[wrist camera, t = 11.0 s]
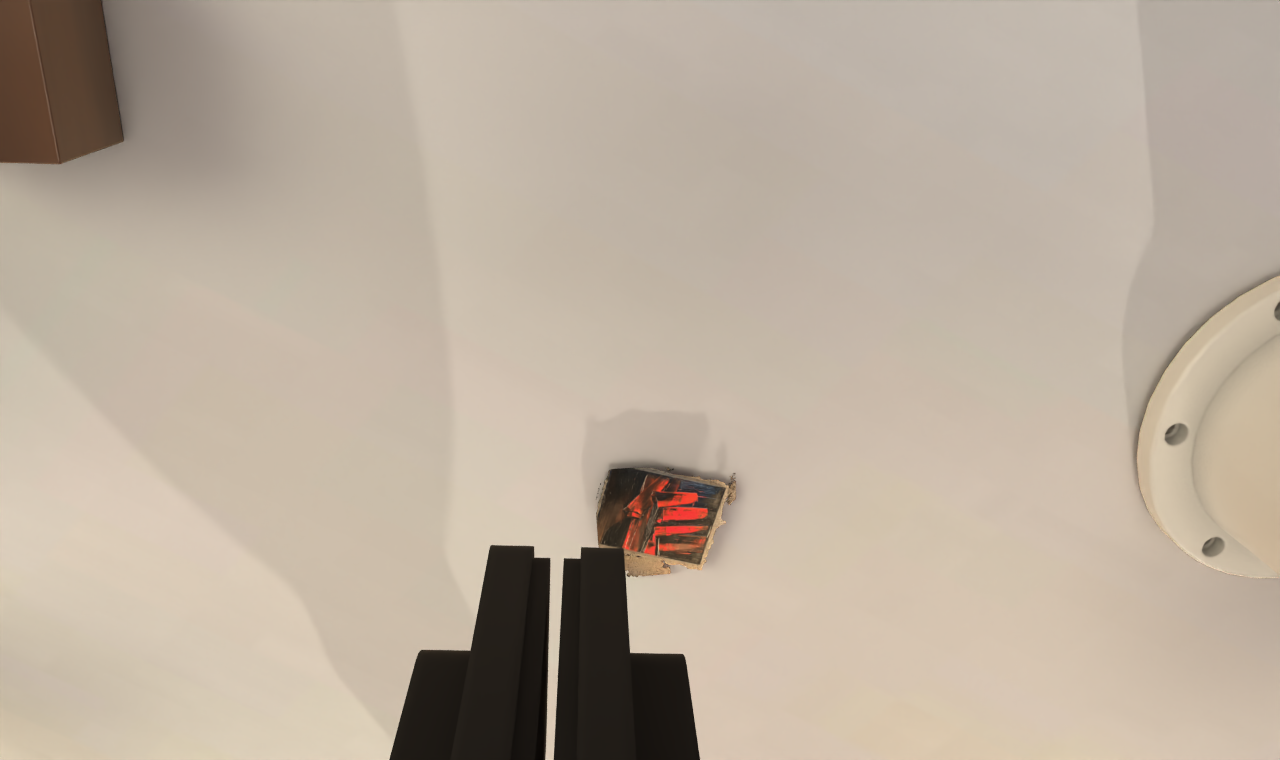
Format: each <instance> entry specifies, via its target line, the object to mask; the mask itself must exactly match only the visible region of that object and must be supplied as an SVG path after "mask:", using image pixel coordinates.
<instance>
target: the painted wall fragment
mask: <svg viewBox="0 0 1280 760" xmlns="http://www.w3.org/2000/svg"><path fill="white" fill-rule="evenodd" d="M672 470H673V469H672ZM667 471H670V469H669V468H667ZM670 472H671V471H670ZM608 473H609V474H608V477H607V479H606V480H605V481H604V482H605V484H604V487H603V489H602V490H603V493H602V494H601V496H602V497H601V499H600V501H599V502H598V503H599V504H598V511H597V513H596V517H597V531H598V545H599V548H623V549H624V559H625V570H628V571H629V573H627V576H628V577H630V576H631V575H632V576H633V577H634V576H636V577H638V575H642V576H647V575H648V576H649V575H652V576H653V575H657V574H658V575H659V574H670V572H671V571H670V567H666V568H663V567H662V566H663V565H664V564H663V562H662V560H664V561H665V563H666V564H668V565H675V564H681V565H683V566H686V567H687V568H689V569H698V570H702V565H703V564H704V563H705V562H706V559H705V558H706V557H707V554H708V550H709V549H710V548H711V545H712V544H713V543H714V541H713V535H714V533H715V531H716V528H719V525H723V524H725V523H726V521H723V520H721V518H720V517H721V515H722V508H723V505H724V503H725V500H726V498H727V497H728V498H729V499H728V500H727V501H726V502H728V504H729V505H731V504H730V503H731V502H732V501H734V500H735V499H736V487H735V485H736V481H735V480H734V482H733V479H735V478H732V477H733V476H732V477H731V479H732V481H731V483H729V484H728V485H725V483H724V482H720V481H719V480H712V481H711V479H710V481H709V480H702V479H701V478H700V476H698V477H693V476H692V477H687V476H683V475H675V474H671V473H666V472H664V471H660V470H658V469H651V468H625V469H624V468H623V469H612V470H609V472H608ZM733 474H735V473H733ZM732 483H733V484H732ZM600 484H601V483H600ZM598 489H599V488H598ZM598 492H599V491H598ZM596 500H597V498H596ZM625 554H630V556H629V555H626V556H625ZM636 556H640V558H639V557H636Z"/></svg>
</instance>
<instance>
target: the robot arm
mask: <svg viewBox="0 0 1280 760" xmlns="http://www.w3.org/2000/svg"><path fill="white" fill-rule="evenodd" d="M1137 469H1138V479H1139V487H1140V490H1141V493H1142V495H1143V498H1144V501H1145V504H1146V507H1147V510H1148V511H1149V513H1150V514H1151V516H1152V517H1153V519H1154V520H1155V522H1156V523H1157V525H1158V526H1159V528H1160V529H1161V531H1163V532H1164V533H1165V534H1166V535H1167V536H1168V537H1169V538H1170V539H1171V540H1172V541H1173V542H1174V543H1175V544H1176V545H1177V546H1178V547H1179V548H1181V549H1182V550H1183V551H1184V552H1185V553H1187V554H1188V555H1190V556H1191V557H1192V558H1194V559H1195V560H1196V561H1198V562H1200V563H1201V564H1203V565H1206V566H1208V567H1211V568H1214V569H1216V570H1219V571H1221V572H1224V573H1226V574H1232V575H1238V576H1244V577H1249V578H1280V276H1278V277H1275V278H1272V279H1270V280H1268V281H1266V282H1265V283H1263V284H1261V285H1259V286H1257V287H1255V288H1253V289H1252V290H1250V291H1248V292H1246V293H1244V294H1242V295H1241V296H1239V297H1238V298H1236V299H1235V300H1234V301H1232V302H1231V303H1230V304H1228V305H1227V306H1226V307H1224V308H1223V309H1222V310H1220V311H1219V312H1218V313H1216V314H1215V315H1214V316H1212V317H1211V318H1210V319H1209V320H1208V321H1207V322H1206V323H1205V324H1204V325H1203V326H1202V327H1201V328H1200V329H1199V330H1198V331H1197V332H1196V333H1195V334H1194V335H1193V336H1192V337H1191V338H1190V339H1189V340H1188V341H1187V342H1186V343H1185V344H1184V345H1183V347H1182V348H1181V350H1180V351H1179V352H1178V354H1177V355H1176V356H1175V358H1174V359H1173V360H1172V362H1171V363H1170V365H1169V366H1168V367H1167V369H1166V370H1165V371H1164V373H1163V375H1162V377H1161V379H1160V381H1159V383H1158V385H1157V387H1156V389H1155V391H1154V393H1153V395H1152V396H1151V398H1150V400H1149V403H1148V406H1147V409H1146V412H1145V416H1144V419H1143V422H1142V425H1141V429H1140V433H1139V442H1138V451H1137ZM549 600H550V558H534V546H498V545H491V546H490V550H489V555H488V560H487V566H486V571H485V576H484V582H483V587H482V592H481V598H480V603H479V609H478V614H477V619H476V625H475V630H474V635H473V641H472V646H471V651H454V650H421V651H420V652H419V653H418V656H417V659H416V662H415V666H414V669H413V673H412V677H411V681H410V684H409V688H408V692H407V696H406V699H405V703H404V707H403V711H402V714H401V718H400V722H399V726H398V730H397V733H396V737H395V741H394V745H393V748H392V752H391V756H390V760H545V753H546V727H547V685H548V642H549ZM554 760H700V757H699V750H698V743H697V736H696V729H695V721H694V714H693V707H692V700H691V693H690V686H689V679H688V672H687V665H686V660H685V657H684V655H683V654H649V653H630V646H629V628H628V611H627V594H626V576H625V559H624V549H623V548H588V547H581V559H566V558H564V568H563V588H562V608H561V628H560V648H559V668H558V688H557V708H556V728H555V748H554Z"/></svg>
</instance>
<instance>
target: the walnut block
mask: <svg viewBox="0 0 1280 760" xmlns="http://www.w3.org/2000/svg"><path fill="white" fill-rule="evenodd" d="M121 142H123V135H122V128H121V122H120V116H119V110H118V104H117V97H116V91H115V85H114V79H113V73H112V66H111V60H110V54H109V48H108V42H107V35H106V29H105V23H104V17H103V11H102V5H101V0H0V163H34V164H62V163H65V162H67V161H70V160H73V159H76V158H79V157H81V156H84V155H87V154H90V153H93V152H95V151H98V150H101V149H104V148H107V147H109V146H112V145H115V144H118V143H121Z"/></svg>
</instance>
